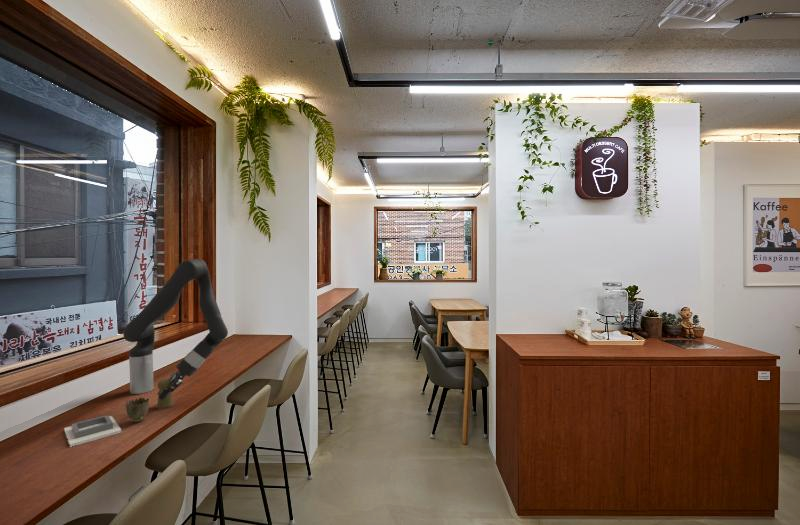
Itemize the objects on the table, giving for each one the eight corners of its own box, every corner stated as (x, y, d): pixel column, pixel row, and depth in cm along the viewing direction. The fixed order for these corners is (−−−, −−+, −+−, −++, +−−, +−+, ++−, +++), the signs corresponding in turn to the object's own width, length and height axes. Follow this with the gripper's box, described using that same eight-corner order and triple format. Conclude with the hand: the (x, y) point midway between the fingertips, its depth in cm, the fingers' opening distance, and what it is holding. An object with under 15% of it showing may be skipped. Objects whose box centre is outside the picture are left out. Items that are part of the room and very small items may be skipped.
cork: (165, 409, 156) (164, 382, 156) (153, 408, 157) (152, 382, 157) (177, 403, 162) (176, 378, 162) (165, 402, 163) (164, 377, 163)
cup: (154, 418, 147) (153, 398, 147) (135, 426, 140) (134, 405, 140) (140, 416, 149) (139, 396, 149) (121, 424, 143) (120, 403, 142)
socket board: (64, 430, 138) (64, 422, 138) (111, 418, 148) (111, 410, 148) (70, 447, 125) (69, 438, 125) (121, 432, 136) (121, 424, 136)
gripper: (182, 354, 170) (150, 387, 163) (186, 361, 158) (152, 397, 151) (195, 364, 173) (165, 396, 166) (200, 371, 161) (168, 406, 154)
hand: (159, 396), depth 158 cm, fingers closed on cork, 4 cm apart
